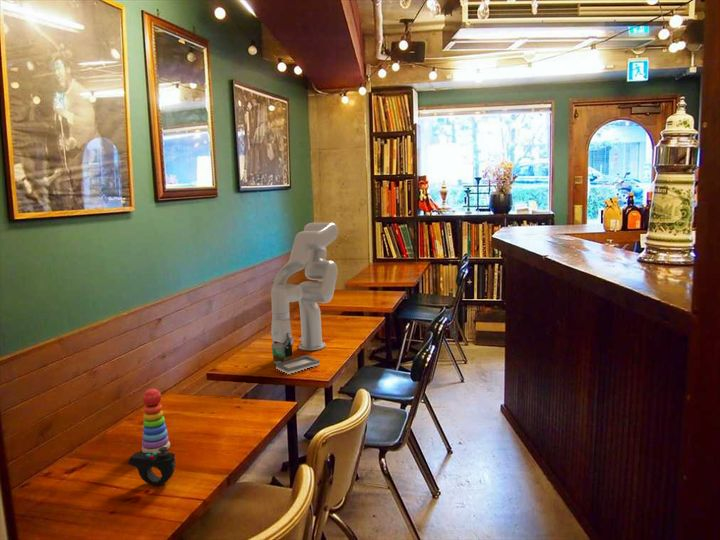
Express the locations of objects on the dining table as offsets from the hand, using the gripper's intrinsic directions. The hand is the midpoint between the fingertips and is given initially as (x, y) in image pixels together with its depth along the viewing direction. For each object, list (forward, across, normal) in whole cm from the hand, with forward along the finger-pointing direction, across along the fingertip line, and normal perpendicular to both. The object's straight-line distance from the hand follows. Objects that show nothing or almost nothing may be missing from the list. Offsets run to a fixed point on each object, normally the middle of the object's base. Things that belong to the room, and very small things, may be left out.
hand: (283, 354), depth 240 cm
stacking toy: (+6, +43, -70) cm, 82 cm away
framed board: (+4, +11, +1) cm, 11 cm away
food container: (+4, 0, +1) cm, 4 cm away
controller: (+6, +62, -77) cm, 99 cm away
